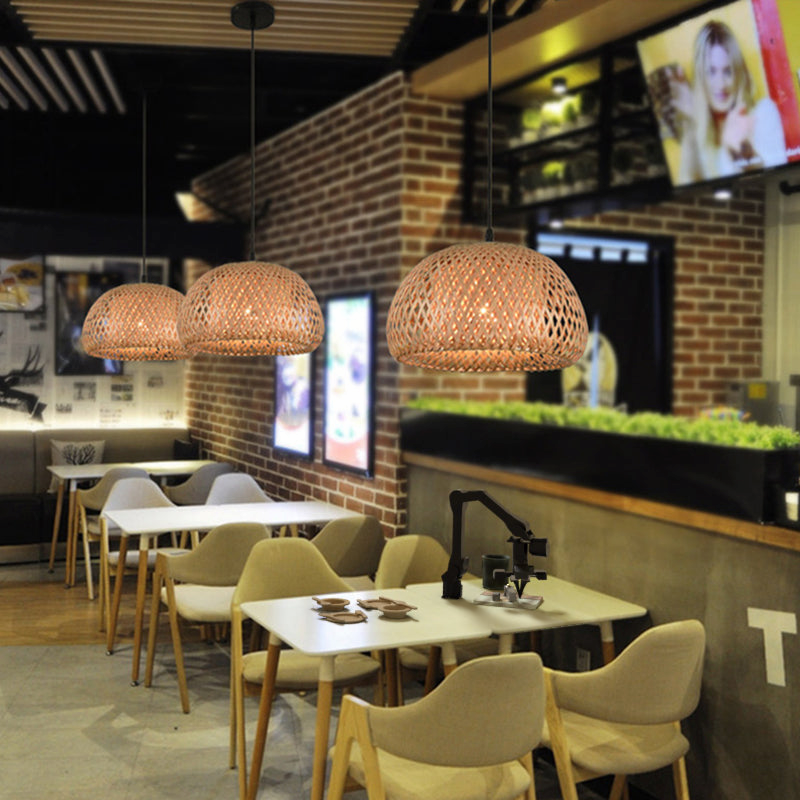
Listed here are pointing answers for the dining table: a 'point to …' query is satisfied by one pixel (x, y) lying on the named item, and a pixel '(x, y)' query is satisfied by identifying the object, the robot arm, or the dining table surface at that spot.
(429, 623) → the dining table surface
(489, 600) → the door mock-up board
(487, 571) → the mug
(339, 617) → the tableware set
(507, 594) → the bar
